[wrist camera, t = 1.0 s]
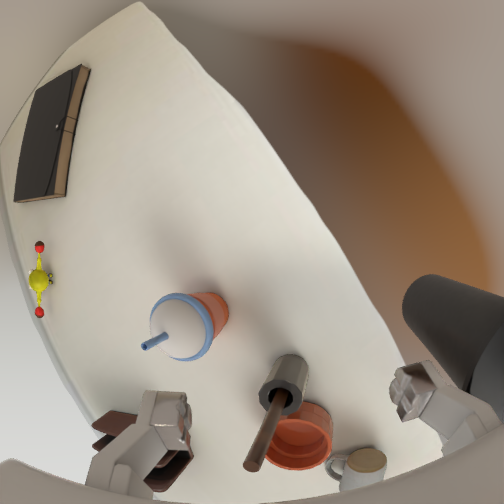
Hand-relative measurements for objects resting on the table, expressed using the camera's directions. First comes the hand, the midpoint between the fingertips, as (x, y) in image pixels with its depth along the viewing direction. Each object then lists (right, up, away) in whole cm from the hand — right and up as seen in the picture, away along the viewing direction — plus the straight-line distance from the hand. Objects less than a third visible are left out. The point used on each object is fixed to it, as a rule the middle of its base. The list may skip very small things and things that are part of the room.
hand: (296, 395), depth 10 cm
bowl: (+6, -24, +32) cm, 41 cm away
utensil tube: (+4, -13, +32) cm, 35 cm away
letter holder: (-24, -34, +41) cm, 58 cm away
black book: (-53, +35, +47) cm, 79 cm away
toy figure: (-49, -1, +47) cm, 68 cm away
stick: (+4, -13, +32) cm, 35 cm away
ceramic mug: (+17, -32, +30) cm, 47 cm away
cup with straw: (-8, -4, +36) cm, 37 cm away
